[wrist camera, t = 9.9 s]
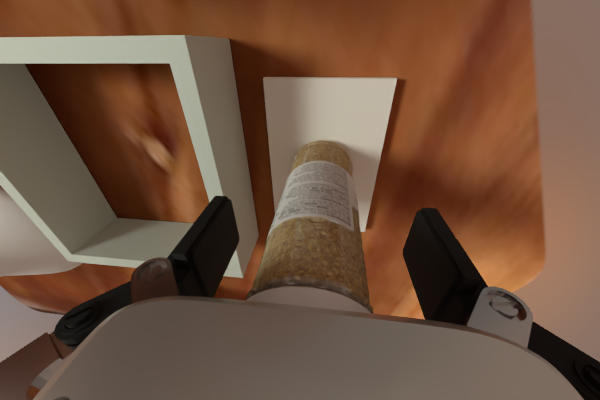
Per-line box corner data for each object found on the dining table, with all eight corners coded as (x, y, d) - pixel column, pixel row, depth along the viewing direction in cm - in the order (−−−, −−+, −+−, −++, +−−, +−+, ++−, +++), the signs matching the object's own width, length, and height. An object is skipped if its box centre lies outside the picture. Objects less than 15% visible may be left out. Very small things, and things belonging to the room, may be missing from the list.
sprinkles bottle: (339, 199, 18) (350, 435, 7) (285, 183, 18) (211, 404, 7) (363, 147, 15) (435, 400, 5) (299, 129, 15) (216, 346, 4)
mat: (265, 76, 14) (262, 77, 14) (394, 77, 14) (397, 78, 13) (277, 221, 21) (275, 225, 21) (363, 227, 20) (364, 231, 20)
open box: (-3, 41, 15) (-129, 39, 11) (229, 38, 13) (184, 35, 9) (113, 224, 24) (68, 261, 20) (258, 235, 22) (242, 277, 18)
